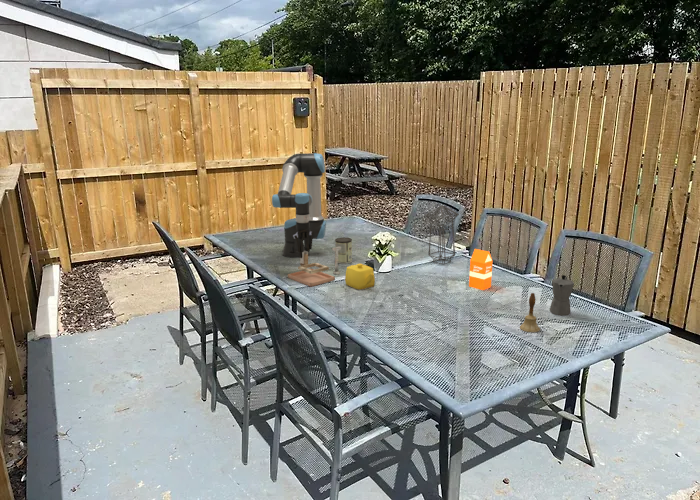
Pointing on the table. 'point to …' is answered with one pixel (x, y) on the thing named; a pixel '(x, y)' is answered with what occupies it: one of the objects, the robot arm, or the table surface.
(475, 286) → the orange juice
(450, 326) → the table surface
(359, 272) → the teapot
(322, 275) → the tray
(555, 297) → the coffeepot
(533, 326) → the hand bell
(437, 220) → the geometric lantern
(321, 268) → the tan wooden piece
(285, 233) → the robot arm
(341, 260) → the coffee can
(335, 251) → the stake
